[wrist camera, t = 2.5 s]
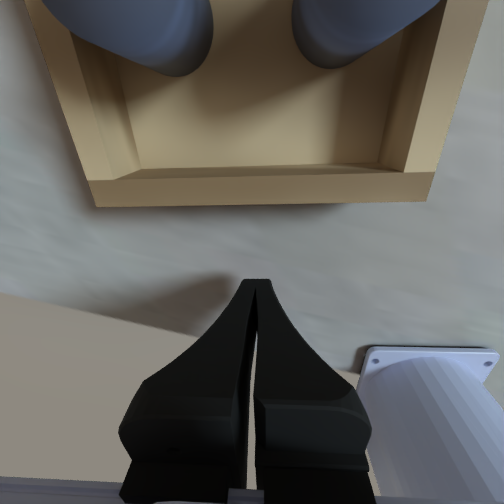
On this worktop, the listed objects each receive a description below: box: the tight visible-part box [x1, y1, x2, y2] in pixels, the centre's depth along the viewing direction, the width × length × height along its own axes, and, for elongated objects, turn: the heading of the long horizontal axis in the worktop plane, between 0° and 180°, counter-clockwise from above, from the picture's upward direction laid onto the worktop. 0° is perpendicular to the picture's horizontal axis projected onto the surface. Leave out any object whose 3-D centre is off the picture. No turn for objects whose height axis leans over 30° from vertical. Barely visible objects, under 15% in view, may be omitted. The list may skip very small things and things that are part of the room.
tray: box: [24, 0, 489, 207], centre depth 7 cm, size 9×12×5 cm
